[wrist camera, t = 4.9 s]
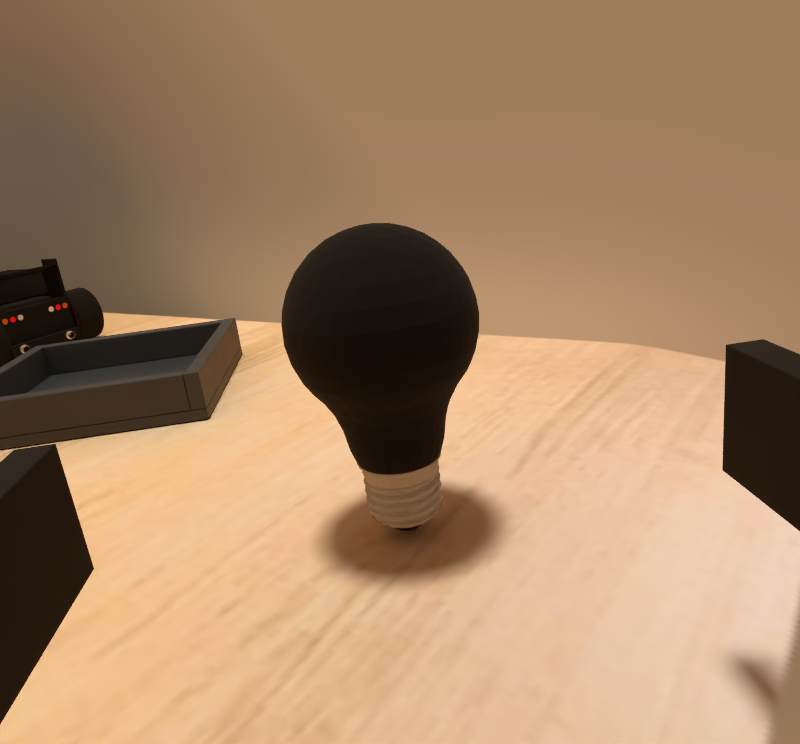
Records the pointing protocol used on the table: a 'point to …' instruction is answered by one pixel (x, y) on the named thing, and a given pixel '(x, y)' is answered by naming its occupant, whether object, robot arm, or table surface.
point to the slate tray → (116, 383)
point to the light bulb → (385, 355)
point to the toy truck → (43, 311)
